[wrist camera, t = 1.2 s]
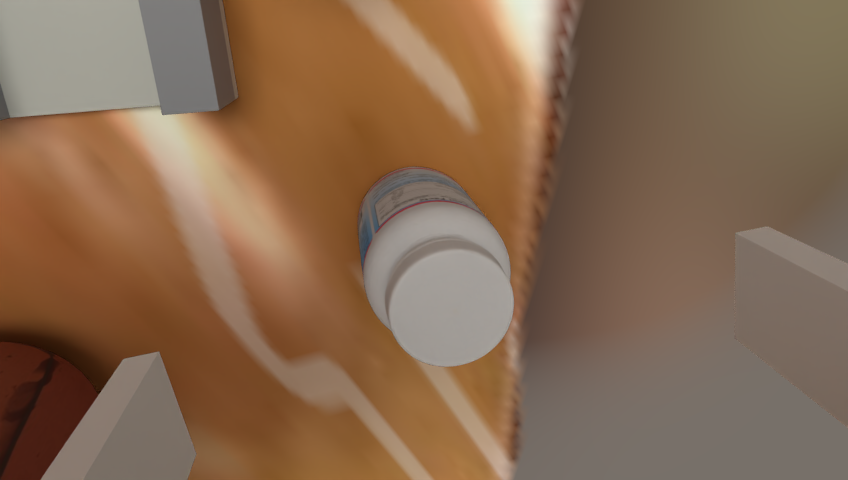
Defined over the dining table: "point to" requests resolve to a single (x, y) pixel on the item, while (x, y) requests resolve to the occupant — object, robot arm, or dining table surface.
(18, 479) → the potted plant
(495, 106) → the dining table surface
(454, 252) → the pill bottle
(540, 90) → the dining table surface
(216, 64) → the notch board
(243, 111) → the dining table surface
